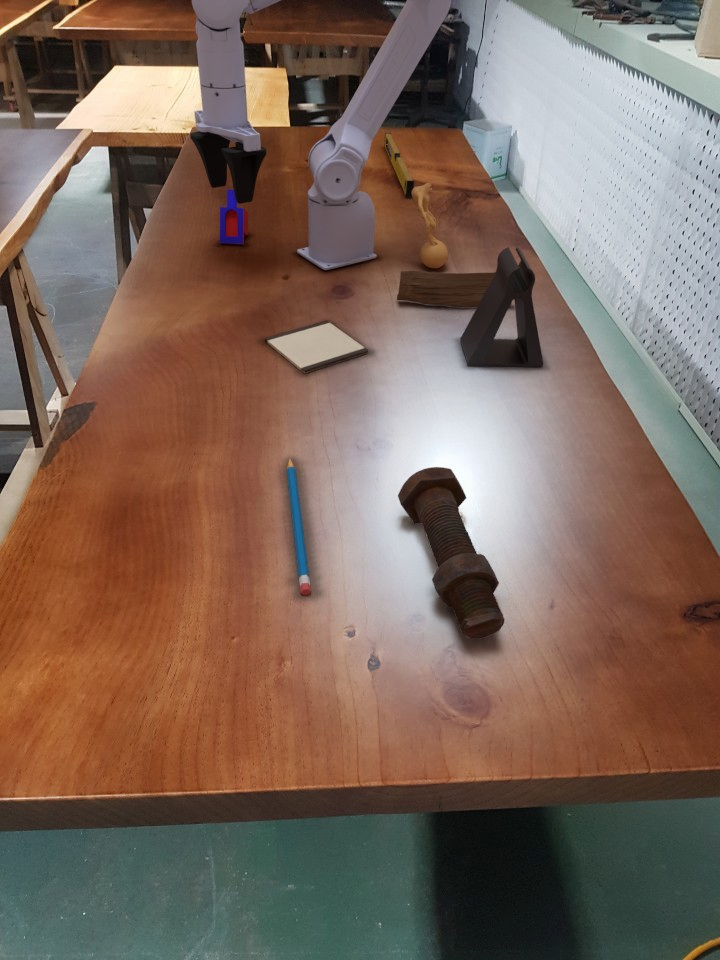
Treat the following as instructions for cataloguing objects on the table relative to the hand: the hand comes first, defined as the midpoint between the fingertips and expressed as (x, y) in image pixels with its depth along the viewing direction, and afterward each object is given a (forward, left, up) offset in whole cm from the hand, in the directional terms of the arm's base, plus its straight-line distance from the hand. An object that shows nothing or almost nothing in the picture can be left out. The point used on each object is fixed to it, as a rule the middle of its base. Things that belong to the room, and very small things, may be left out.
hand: (231, 194), depth 99 cm
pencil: (+22, +54, -10) cm, 59 cm away
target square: (+4, +29, -9) cm, 30 cm away
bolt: (+15, +66, -10) cm, 68 cm away
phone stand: (-14, +42, -10) cm, 45 cm away
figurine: (-23, +17, -10) cm, 30 cm away
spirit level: (-49, -24, -10) cm, 55 cm away
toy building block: (-4, -7, -10) cm, 13 cm away
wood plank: (-18, +28, -10) cm, 35 cm away
